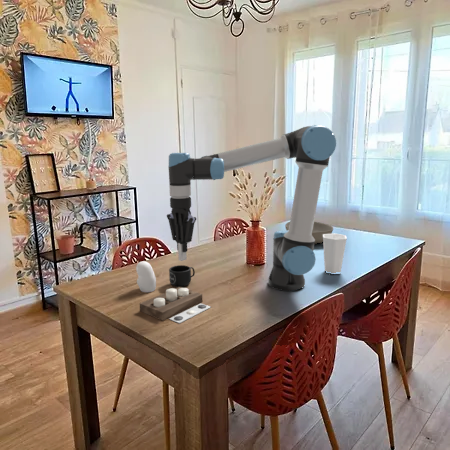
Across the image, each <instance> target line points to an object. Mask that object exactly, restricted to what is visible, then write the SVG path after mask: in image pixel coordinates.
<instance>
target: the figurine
mask: <svg viewBox="0 0 450 450" xmlns="http://www.w3.org/2000/svg"><path fill="white" fill-rule="evenodd" d="M135 269H136V273H137V276H138V277H137V279H136V284H137V286H138V287H139V290H140V292H141V293H151V292H154V291H155V290H156V288H157V278H156V274H155V272H154V268H153V267H152V265H151V263H150V262H148V261H145V260H143V261H139V262H138V263H137V264H136V267H135Z"/></svg>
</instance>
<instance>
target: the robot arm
mask: <svg viewBox="0 0 450 450" xmlns="http://www.w3.org/2000/svg"><path fill="white" fill-rule="evenodd" d="M336 147H337V138H336V135H335V134H334V132H333V131H332V130H331V128H328V127H327V126H324V125H320V124H313V125H308V126H303V127H301V128H298V129H296V130H293V131H289V132H288V133H285V134H282V135H281V136H280V137H278V138H275V139H271V140H266V141H263V142H258V143H254V144H251V145H250V144H249V145H246V146H242V147H237V148H235V149H231V150H227V151H223V152H218V153H215V154H214V153H213V154H210V155H203V156H201V157H200V158H192V157H191V156H190V155H191V154H190V153H189V152H172V153H169V155H168V180H169V181H168V183H169V186H168V187H169V196H170V198H169V206H170V209H171V213H168V214H166V218H167V220H168V223H169V229H170V234H171V239H172V240H173V241H175V242H176V249H177V251H178V253H177V254H178V261H179V262H183V261H186V260H187V259H188V258H187V257H188V256H187V252H188V243H191V242H192V241H193V234H194V228H195V223H196V221H197V217H196V216H193V215H192V212H191V207H192V198H191V194H192V191H191V189H192V188H191V183H192V182H191V181H195V180H196V181H197V180H198V181H199V180H201V181H202V180H203V181H205V180H208V181H209V180H211V181H212V180H213V181H215V180H222V179H224V178H225V172H226V173H227V172H230V171H233V170H234V171H235V170H237V169H238V170H239V169H242V168H245V167H250V166H254V165H259V164H263V163H267V162H271V161H275V160H278V159H283V158H285V159H287V160H290V159H294V158H295V164H296V165H297V167H298V170H297V176H296V183H295V189H294V195H293V200H292V201H293V202H292V208H291V214H290V220H289V222H290V225H289V230H286V229H285V230H277V231H275V232H274V234H273V238H272V240H273V241H272V242H273V246H272V247H273V251H272V268H271V270H270V273H269V277H268V282H267V283H268V285H269V286H270V287H271V288H273V289H275V290H278V291H285V292H286V291H288V292H293V291H292V290H295V291H298V290H297V289H300V288H302V287H304V288H305V286H306V280H305V276H304V275H305V274H307V273H309V272H310V271H311V270H313V268H314V267H315V264H316V253H315V252H314V250H315V249H314V248H315V244H314V243H315V239H314V238H313V236H312V230H313V224H314V222H315V217H316V211H317V206H318V200H319V194H320V189H321V184H322V178H323V171H324V170H325V169H326V168H328V167H329V162H330V157H331V156H332V155H333V154H334V152H335V150H336ZM304 285H305V286H304ZM302 289H303V288H302ZM300 290H301V289H300Z"/></svg>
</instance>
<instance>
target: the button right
mask: <svg viewBox="0 0 450 450" xmlns="http://www.w3.org/2000/svg"><path fill="white" fill-rule="evenodd" d="M189 290H190V289H189V288H187V287H182V288H180V289H178V295H179V296H181V297H185V296H187V295H189Z"/></svg>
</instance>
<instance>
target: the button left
mask: <svg viewBox="0 0 450 450" xmlns="http://www.w3.org/2000/svg"><path fill="white" fill-rule="evenodd" d="M154 306H155V307H157V308H160V307H162V306H165V299H164V298H156V299H154Z"/></svg>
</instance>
